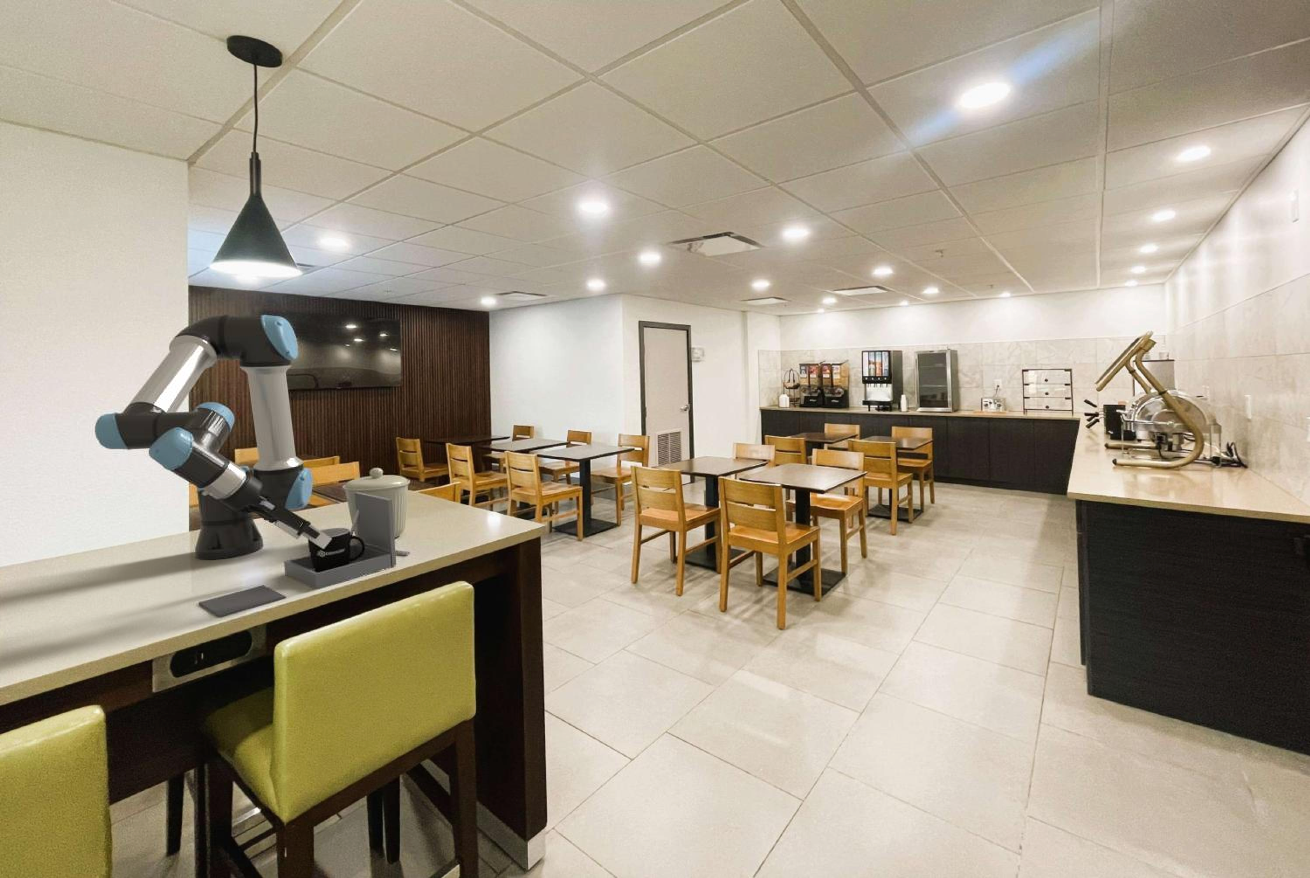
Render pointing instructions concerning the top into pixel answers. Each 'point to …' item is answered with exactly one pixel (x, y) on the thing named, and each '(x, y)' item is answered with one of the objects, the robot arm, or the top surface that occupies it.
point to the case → (356, 546)
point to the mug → (334, 550)
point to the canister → (381, 495)
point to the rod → (402, 552)
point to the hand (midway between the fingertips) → (313, 538)
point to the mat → (241, 600)
